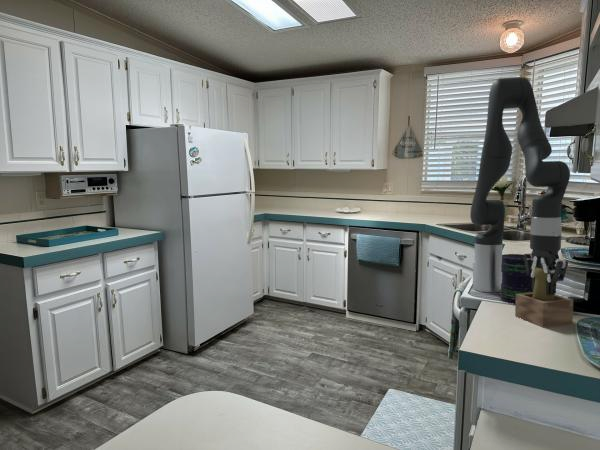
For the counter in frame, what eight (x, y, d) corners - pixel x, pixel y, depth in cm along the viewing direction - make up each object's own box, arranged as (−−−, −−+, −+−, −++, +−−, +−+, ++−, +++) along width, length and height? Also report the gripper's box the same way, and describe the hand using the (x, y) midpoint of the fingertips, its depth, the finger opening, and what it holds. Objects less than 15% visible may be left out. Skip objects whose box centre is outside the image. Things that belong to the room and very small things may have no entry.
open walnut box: (515, 317, 123) (515, 294, 122) (543, 314, 125) (543, 291, 124) (542, 328, 113) (543, 303, 112) (572, 324, 115) (573, 299, 115)
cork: (552, 310, 114) (553, 270, 113) (528, 306, 118) (529, 268, 117) (557, 305, 119) (558, 267, 118) (534, 301, 123) (534, 264, 122)
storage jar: (537, 305, 133) (538, 259, 131) (503, 304, 135) (504, 258, 134) (528, 297, 142) (530, 254, 141) (497, 296, 145) (498, 253, 144)
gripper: (515, 231, 123) (514, 287, 124) (554, 236, 109) (552, 300, 111) (537, 229, 124) (535, 285, 126) (578, 235, 110) (576, 298, 112)
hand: (543, 292), depth 118 cm, fingers closed on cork, 4 cm apart
